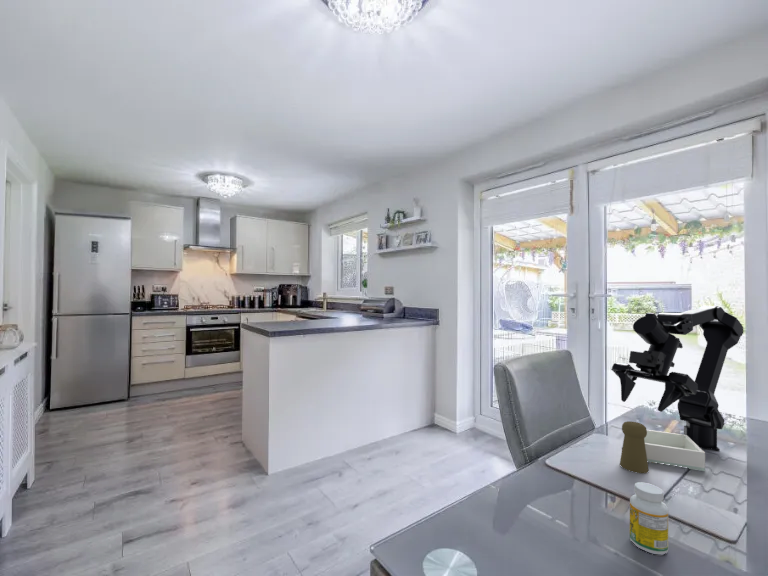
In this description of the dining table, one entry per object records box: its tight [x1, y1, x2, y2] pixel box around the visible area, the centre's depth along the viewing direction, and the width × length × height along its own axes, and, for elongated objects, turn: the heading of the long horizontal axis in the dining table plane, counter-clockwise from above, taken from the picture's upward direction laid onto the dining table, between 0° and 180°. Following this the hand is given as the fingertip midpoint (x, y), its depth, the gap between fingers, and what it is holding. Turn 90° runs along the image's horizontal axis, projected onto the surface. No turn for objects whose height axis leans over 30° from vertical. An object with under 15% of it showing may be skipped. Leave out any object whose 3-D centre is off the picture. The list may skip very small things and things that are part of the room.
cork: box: [619, 420, 650, 474], centre depth 93 cm, size 6×6×11 cm
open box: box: [644, 429, 706, 472], centre depth 100 cm, size 13×13×4 cm
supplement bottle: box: [629, 481, 669, 554], centre depth 63 cm, size 5×5×10 cm
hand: (640, 405), depth 97 cm, fingers open, 9 cm apart
